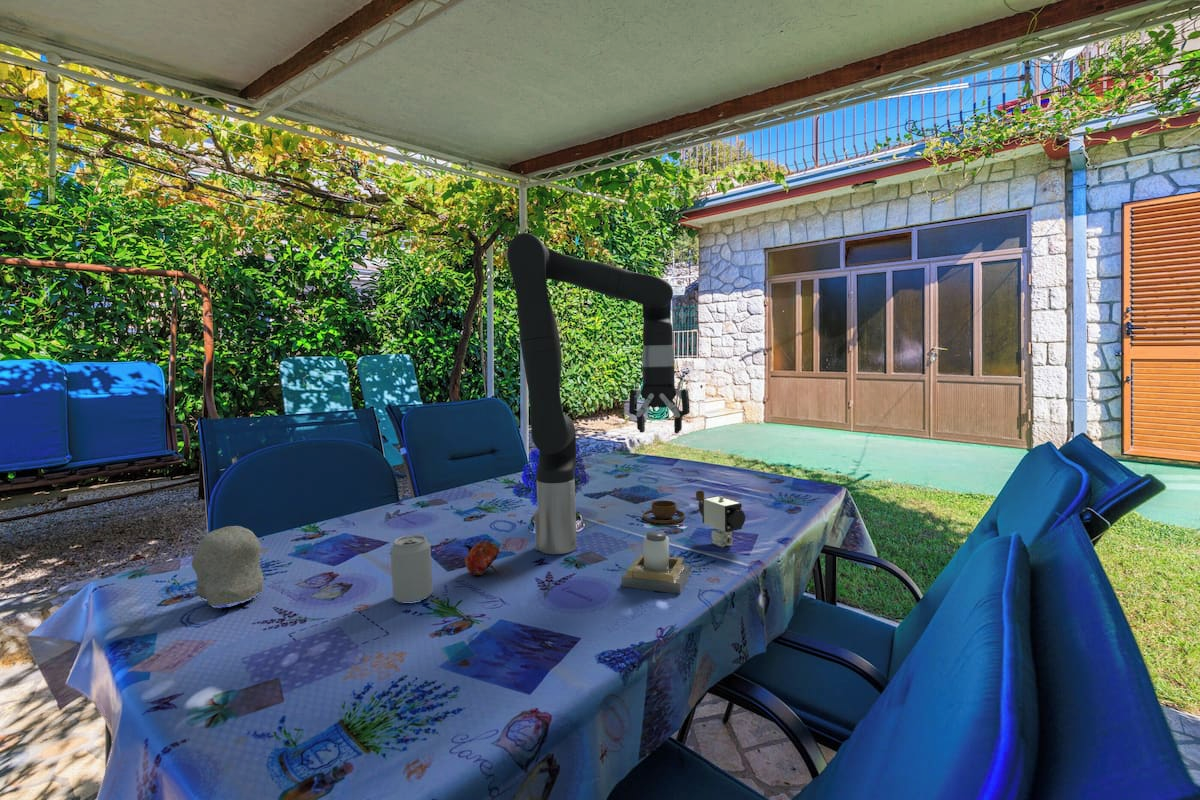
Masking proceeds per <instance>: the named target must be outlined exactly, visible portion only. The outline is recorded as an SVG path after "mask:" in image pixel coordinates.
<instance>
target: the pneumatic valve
mask: <svg viewBox="0 0 1200 800" xmlns="http://www.w3.org/2000/svg"><path fill="white" fill-rule="evenodd" d="M701 502H702V503H701V504H700V508H699V507H698V511H699V514H700V516H702V517H701V519H702V523H703V524H704V525H707V526H709V527H712V528H713V530H712V531H711V535H710V536H711V539H712V540H711V544H712V545H714V546H716V547H717V546H718V547H720V548H722V549H723V548H724V547H727V546H732V545H733V537H732V535H733V533H732V532H734V531H740V530H742V529H743V526H744V524H745V521H746V514H745V512H744V511H743V507H742V503H741V502H737V501H735V500H731V499H730V498H725V497H724V496H721V495H720V496H718V495H714V496H709V497H704V498H703V499H702V501H701ZM714 529H716V530H714Z"/></svg>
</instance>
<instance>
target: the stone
mask: <svg viewBox="0 0 1200 800" xmlns="http://www.w3.org/2000/svg"><path fill="white" fill-rule="evenodd" d="M261 552H262V546H261V543H260V541H259V539H258V537H257V536H256V535H255V533H254V532H253V530H250V529H249V528H246V527H243V526H241V525H233V526H232V525H229V526H224V527H221V528H218V529H214V530H212V531H210V532H209V533H207V534H205V535H204V536H203V538H201V541H200V542H199V544H198V546H197V548H196V550H195V552H194V554H193V557H192V560H191V567H192V569H193V571H194V572H195V574H196V579H197V580H196V581H197V582H196V586H195V591H196V594H197V595H198V596H199V597H200V598H201V599H202V598H204V599H207V601H208V602H207V603H208V605H209V606H210V605H213V606H216V605H223V604H230V603H234V602H240V601H244V600H246V599H249V598H251V597H253V596H255V595H256V594H257V593H259V592H261V591H263V588H264V574H263V571H262V569H261V564H260V562H261ZM261 593H262V592H261Z"/></svg>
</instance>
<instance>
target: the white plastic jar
mask: <svg viewBox="0 0 1200 800" xmlns="http://www.w3.org/2000/svg"><path fill="white" fill-rule="evenodd" d="M643 554H644V570H649V571H658V572H667V573H669V557H670V538H669V536H667V534H666V532H664V531H658V530H655V531H648V532H646V535H644V536H643Z"/></svg>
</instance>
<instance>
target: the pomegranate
mask: <svg viewBox="0 0 1200 800" xmlns="http://www.w3.org/2000/svg"><path fill="white" fill-rule="evenodd" d="M463 548H467V549H468V551H467V556H465V560H464V561H465V567H466V569H467V570H468V571H469V572H470V573H469V574H472V575H473V576H475V575H481V576H483V575H484V573H485V572H486V571H487V570H488V569H489V568H491V569H492V570H493V571H495V572H497V573H498V574H499V573H500V572H499V571H498V570H497V568H495V567H494V566H493V565H492V564H493V562H494V561H495V560H496V559H497V557H498V555H499V554H500V553H501V551H500V550H499V548H498V546H497V545H496V544H495V543H493V542H491V541H482V540H481V541H480V542H477V543H476V544H475V545H472V546H471V545H468V544H465V546H463ZM486 569H487V570H486ZM485 570H486V571H485Z"/></svg>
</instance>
